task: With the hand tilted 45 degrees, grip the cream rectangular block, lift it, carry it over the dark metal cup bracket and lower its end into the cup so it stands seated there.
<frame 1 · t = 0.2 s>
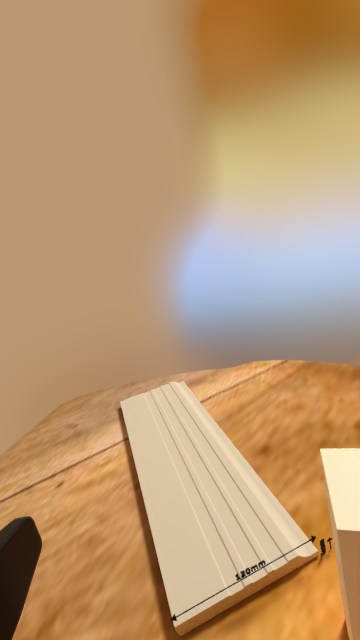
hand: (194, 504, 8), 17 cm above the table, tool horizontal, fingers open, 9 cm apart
baseboard molding: (189, 455, 35), on the table
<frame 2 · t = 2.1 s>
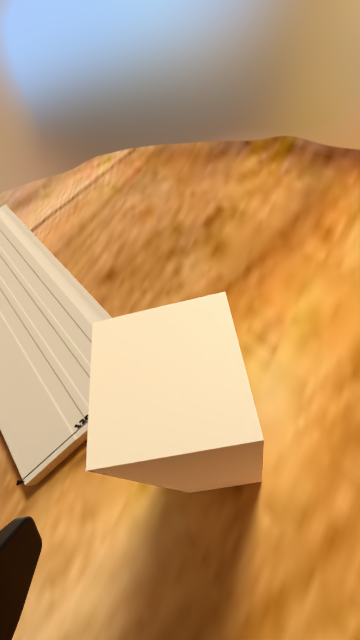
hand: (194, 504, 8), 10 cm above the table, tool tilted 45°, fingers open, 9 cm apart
cream rectangular block: (218, 448, 18), on the table
baseboard molding: (28, 300, 29), on the table
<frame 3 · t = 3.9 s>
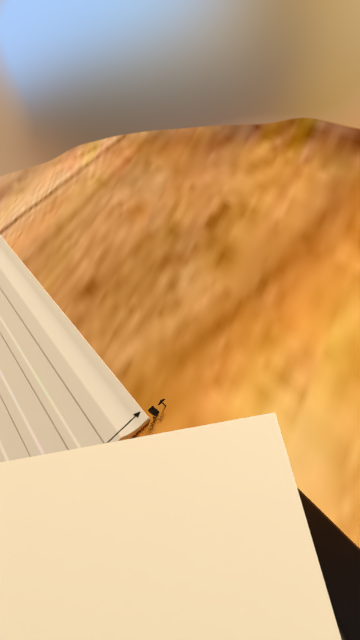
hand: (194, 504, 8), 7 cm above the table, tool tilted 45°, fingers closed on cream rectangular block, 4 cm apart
cream rectangular block: (227, 543, 13), on the table, touching gripper
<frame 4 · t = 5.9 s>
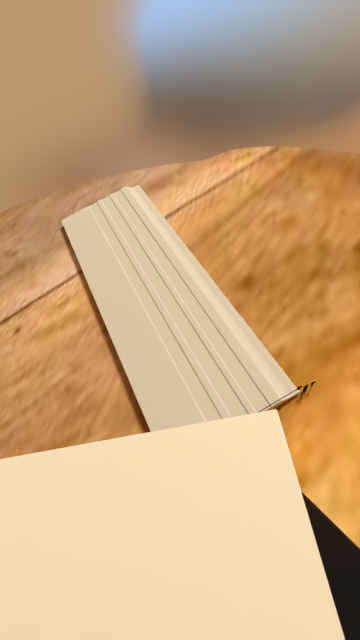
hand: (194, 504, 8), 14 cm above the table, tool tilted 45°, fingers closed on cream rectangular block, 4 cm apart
cream rectangular block: (228, 542, 13), point 7 cm above the table, touching gripper
baseboard molding: (158, 288, 30), on the table
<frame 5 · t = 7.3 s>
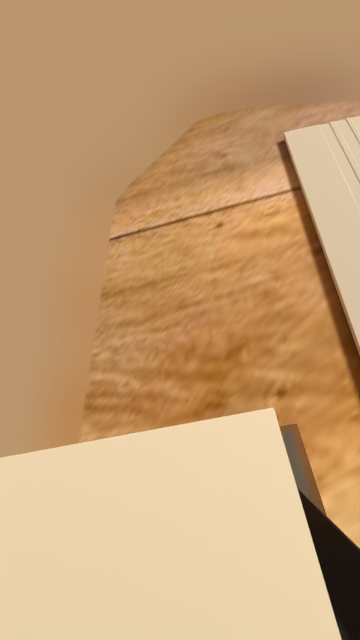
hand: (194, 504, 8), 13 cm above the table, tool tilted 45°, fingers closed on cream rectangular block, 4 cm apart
cream rectangular block: (227, 542, 13), point 6 cm above the table, touching gripper
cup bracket: (236, 529, 18), on the table
when the fingers open (9 cm above the table, at t = 8.3 s): cream rectangular block drops 1 cm, resting on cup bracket.
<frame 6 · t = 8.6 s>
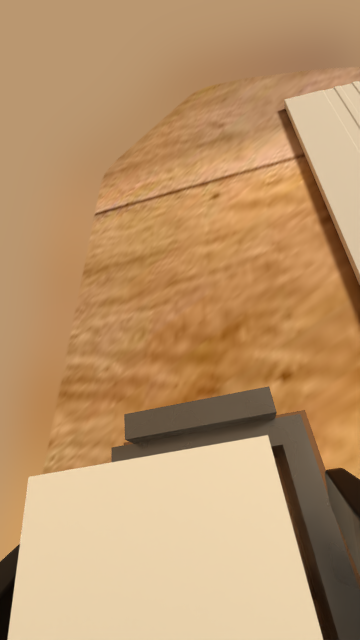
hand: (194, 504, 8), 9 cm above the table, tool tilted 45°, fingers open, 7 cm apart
cream rectangular block: (229, 538, 14), point 1 cm above the table, touching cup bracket
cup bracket: (232, 537, 15), on the table
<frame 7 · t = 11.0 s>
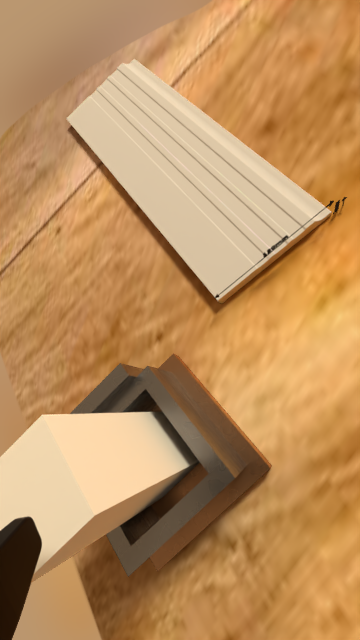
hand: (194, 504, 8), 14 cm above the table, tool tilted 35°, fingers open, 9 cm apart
cream rectangular block: (165, 453, 21), point 1 cm above the table, touching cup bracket
baseboard molding: (178, 159, 30), on the table
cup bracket: (171, 451, 22), on the table
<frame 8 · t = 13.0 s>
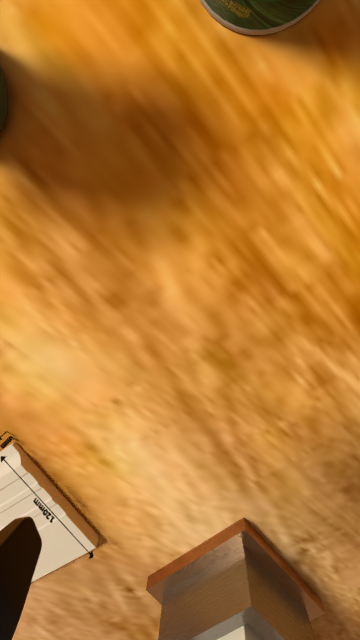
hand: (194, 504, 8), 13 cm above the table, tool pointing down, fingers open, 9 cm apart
cream rectangular block: (234, 602, 24), point 1 cm above the table, touching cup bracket
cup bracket: (233, 587, 25), on the table
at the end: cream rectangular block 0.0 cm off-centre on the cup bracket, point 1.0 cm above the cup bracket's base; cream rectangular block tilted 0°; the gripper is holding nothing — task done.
